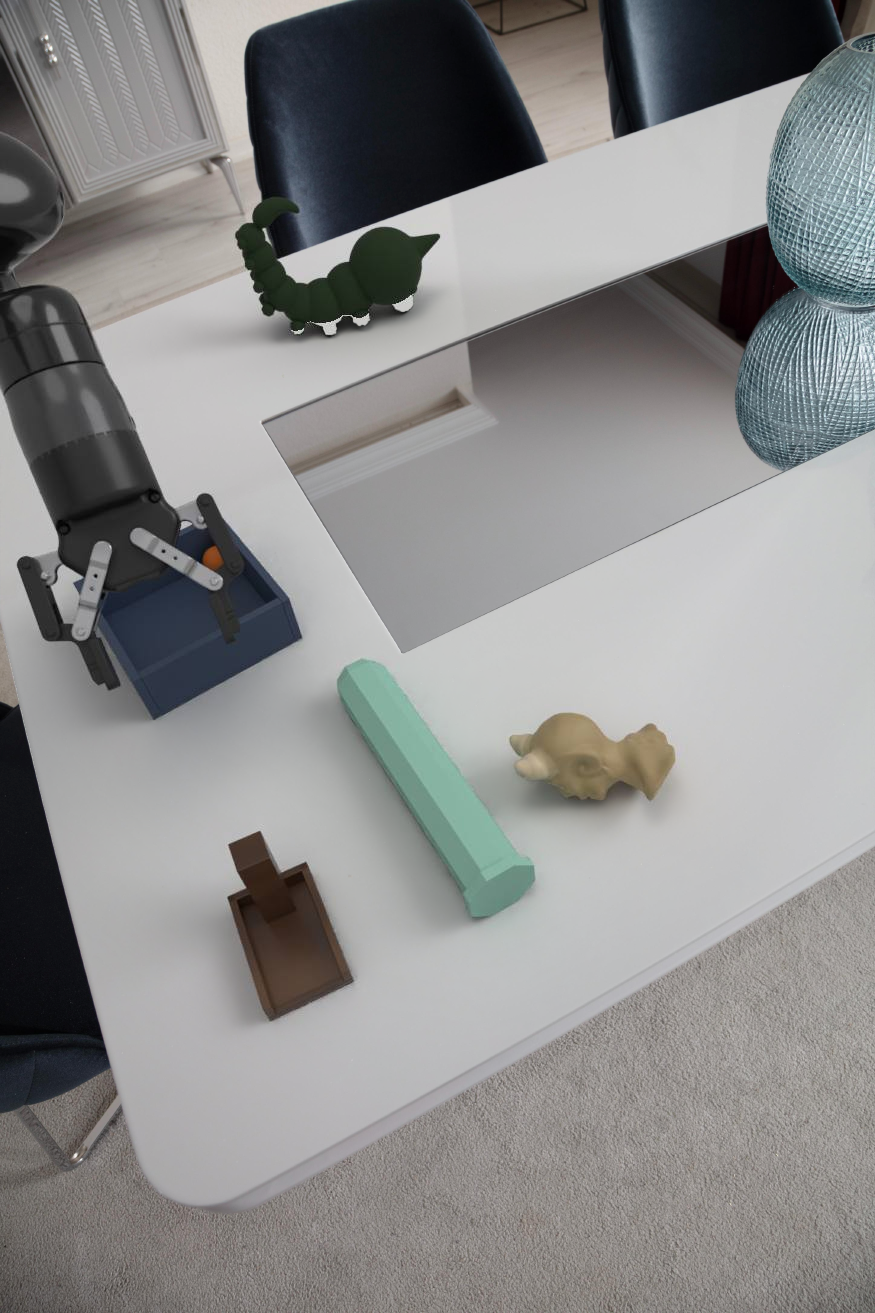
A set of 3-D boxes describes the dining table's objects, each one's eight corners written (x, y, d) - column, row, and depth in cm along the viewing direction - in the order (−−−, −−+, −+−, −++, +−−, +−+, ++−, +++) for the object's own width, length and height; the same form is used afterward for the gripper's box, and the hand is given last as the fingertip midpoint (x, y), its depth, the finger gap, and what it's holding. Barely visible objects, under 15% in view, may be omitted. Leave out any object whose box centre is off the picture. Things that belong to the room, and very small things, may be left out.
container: (329, 651, 79) (479, 877, 64) (390, 641, 82) (547, 854, 67) (319, 702, 83) (458, 927, 67) (377, 691, 86) (523, 904, 70)
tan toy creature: (685, 775, 68) (526, 745, 67) (653, 842, 72) (502, 815, 71) (666, 707, 75) (522, 679, 74) (638, 772, 79) (501, 747, 78)
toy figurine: (281, 367, 123) (460, 310, 123) (229, 229, 108) (432, 164, 108) (272, 332, 129) (443, 277, 129) (221, 196, 114) (414, 135, 114)
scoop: (354, 981, 67) (330, 929, 60) (270, 1021, 65) (236, 973, 58) (311, 873, 72) (285, 815, 66) (234, 908, 71) (199, 852, 64)
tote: (154, 720, 84) (132, 682, 80) (95, 621, 93) (72, 582, 89) (302, 638, 89) (289, 597, 84) (232, 551, 98) (217, 511, 93)
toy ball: (210, 575, 92) (227, 550, 92) (191, 560, 93) (208, 536, 93) (227, 584, 95) (244, 560, 95) (209, 570, 96) (225, 546, 96)
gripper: (-38, 472, 58) (65, 709, 60) (179, 399, 61) (272, 628, 63) (-7, 490, 66) (83, 700, 67) (185, 424, 68) (268, 629, 70)
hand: (174, 665), depth 65 cm, fingers open, 8 cm apart
